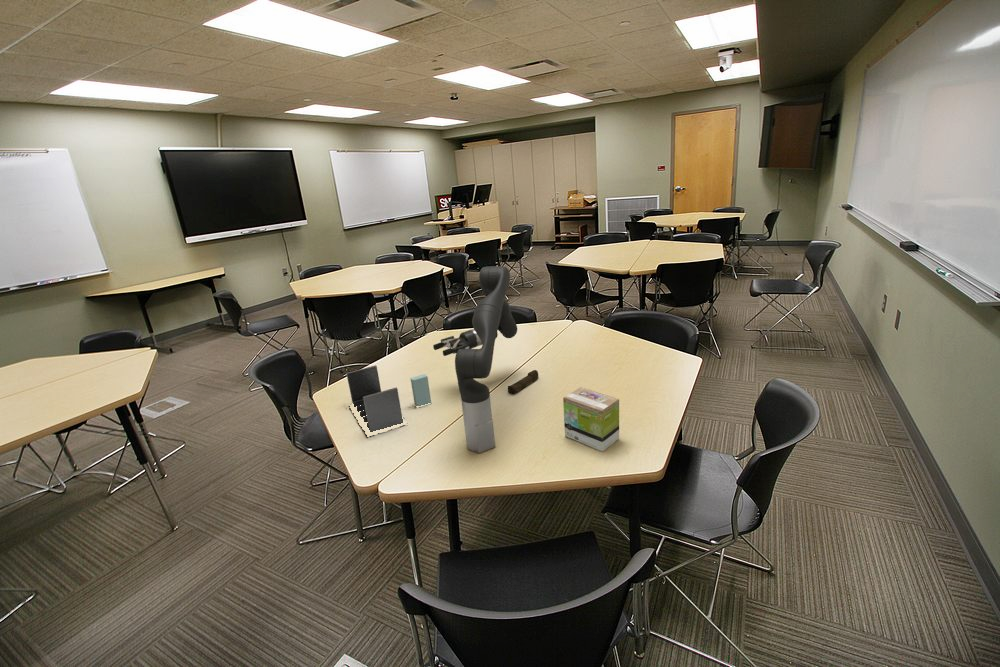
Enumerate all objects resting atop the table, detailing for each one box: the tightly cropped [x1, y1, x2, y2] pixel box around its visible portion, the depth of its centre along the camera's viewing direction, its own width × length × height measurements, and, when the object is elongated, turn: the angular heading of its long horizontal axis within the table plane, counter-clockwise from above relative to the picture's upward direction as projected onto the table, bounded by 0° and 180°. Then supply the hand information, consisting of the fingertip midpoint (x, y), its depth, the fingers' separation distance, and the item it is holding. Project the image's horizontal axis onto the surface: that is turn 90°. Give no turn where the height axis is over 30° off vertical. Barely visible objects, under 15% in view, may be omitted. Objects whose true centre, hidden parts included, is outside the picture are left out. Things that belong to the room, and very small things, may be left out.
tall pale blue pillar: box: [409, 373, 432, 407], centre depth 182 cm, size 3×6×12 cm, turn 119°
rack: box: [345, 364, 403, 432], centre depth 175 cm, size 30×15×15 cm, turn 30°
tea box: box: [562, 386, 620, 452], centre depth 147 cm, size 15×10×15 cm, turn 45°
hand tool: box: [507, 369, 540, 395], centre depth 191 cm, size 19×4×5 cm, turn 137°
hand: (438, 350), depth 181 cm, fingers open, 8 cm apart
